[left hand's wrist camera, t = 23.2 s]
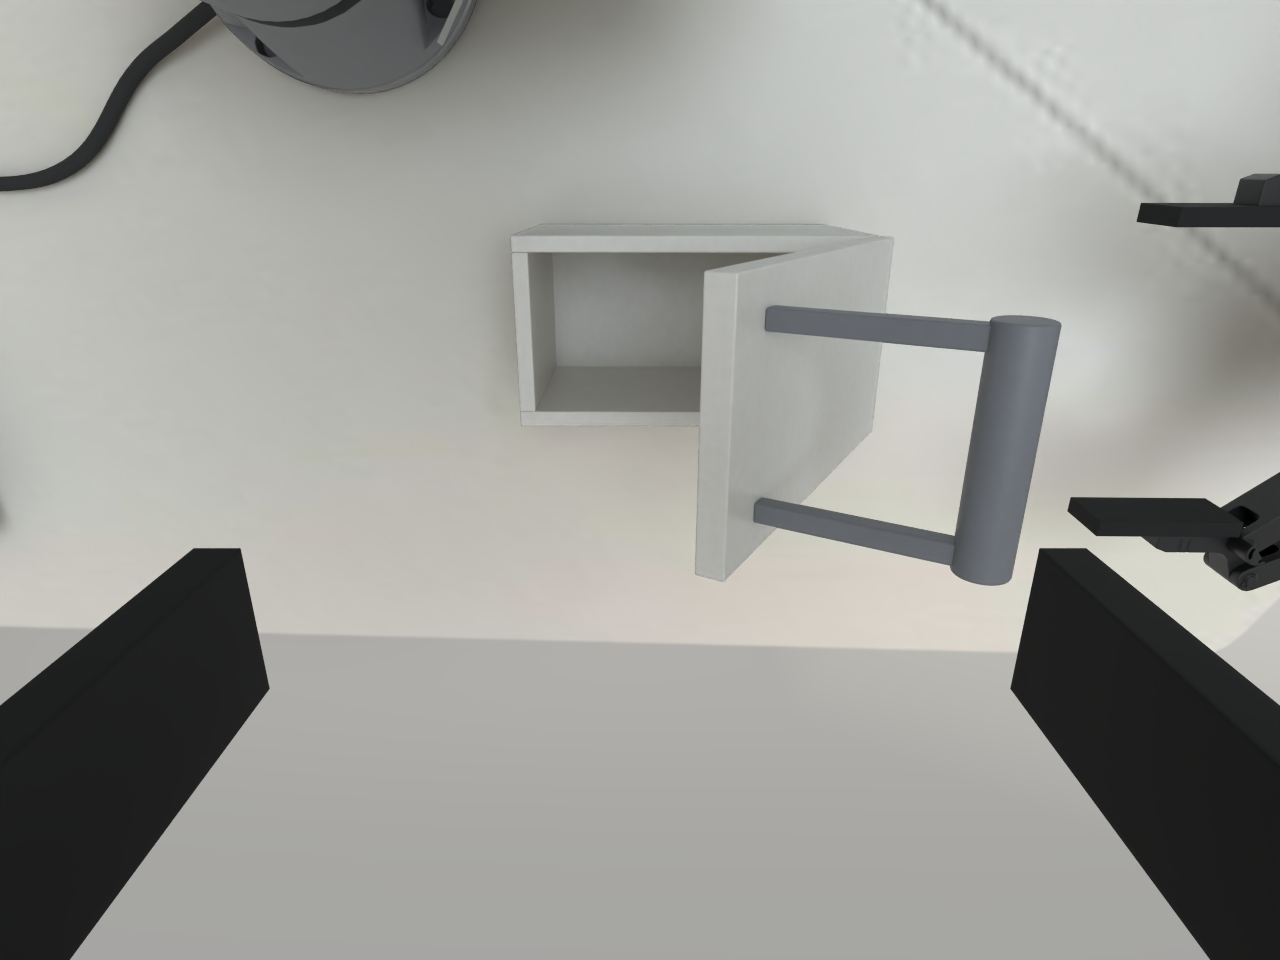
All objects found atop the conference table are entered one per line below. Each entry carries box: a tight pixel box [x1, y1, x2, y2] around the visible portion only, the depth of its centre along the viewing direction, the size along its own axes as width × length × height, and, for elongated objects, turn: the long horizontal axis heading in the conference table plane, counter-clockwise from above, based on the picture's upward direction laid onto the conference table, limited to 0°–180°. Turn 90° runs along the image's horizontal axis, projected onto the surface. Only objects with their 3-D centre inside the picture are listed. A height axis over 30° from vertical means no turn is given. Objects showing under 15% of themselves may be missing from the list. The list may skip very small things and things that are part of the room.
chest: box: [510, 224, 878, 426], centre depth 42 cm, size 17×9×11 cm, turn 90°
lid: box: [695, 236, 1061, 586], centre depth 28 cm, size 18×9×9 cm
